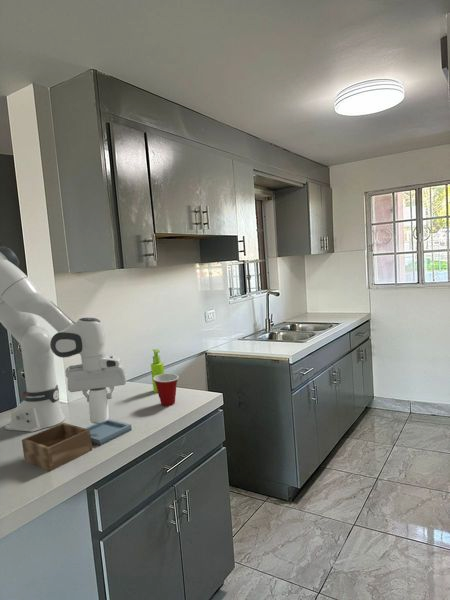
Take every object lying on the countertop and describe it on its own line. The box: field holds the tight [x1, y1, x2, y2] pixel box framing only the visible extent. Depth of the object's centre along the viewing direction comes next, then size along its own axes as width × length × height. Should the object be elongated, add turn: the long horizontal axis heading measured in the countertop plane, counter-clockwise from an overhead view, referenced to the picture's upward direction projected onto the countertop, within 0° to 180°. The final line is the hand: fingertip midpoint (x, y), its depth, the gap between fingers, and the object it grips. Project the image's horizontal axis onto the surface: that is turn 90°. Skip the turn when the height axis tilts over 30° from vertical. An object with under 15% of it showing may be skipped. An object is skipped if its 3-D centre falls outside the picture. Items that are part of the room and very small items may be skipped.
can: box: [88, 387, 110, 424], centre depth 147 cm, size 6×6×12 cm
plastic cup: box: [153, 373, 180, 407], centre depth 174 cm, size 11×11×12 cm
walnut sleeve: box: [21, 422, 93, 472], centre depth 133 cm, size 15×15×7 cm
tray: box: [84, 419, 132, 446], centre depth 148 cm, size 14×14×2 cm
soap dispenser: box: [150, 348, 165, 393], centre depth 193 cm, size 6×7×20 cm
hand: (99, 400), depth 147 cm, fingers closed on can, 6 cm apart
